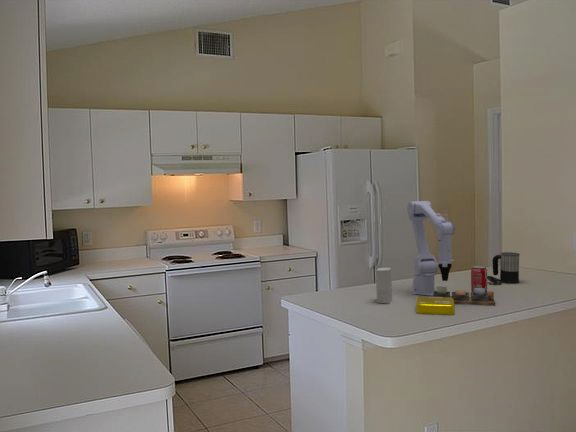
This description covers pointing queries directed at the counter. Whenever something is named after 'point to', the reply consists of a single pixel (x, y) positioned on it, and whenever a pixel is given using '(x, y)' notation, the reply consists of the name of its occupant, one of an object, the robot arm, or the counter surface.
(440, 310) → the element tile
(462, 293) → the terracotta button
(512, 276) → the milk frother
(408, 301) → the counter surface
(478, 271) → the soda can
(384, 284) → the skincare box
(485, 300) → the panel
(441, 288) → the sage button
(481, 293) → the slate button
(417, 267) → the robot arm
